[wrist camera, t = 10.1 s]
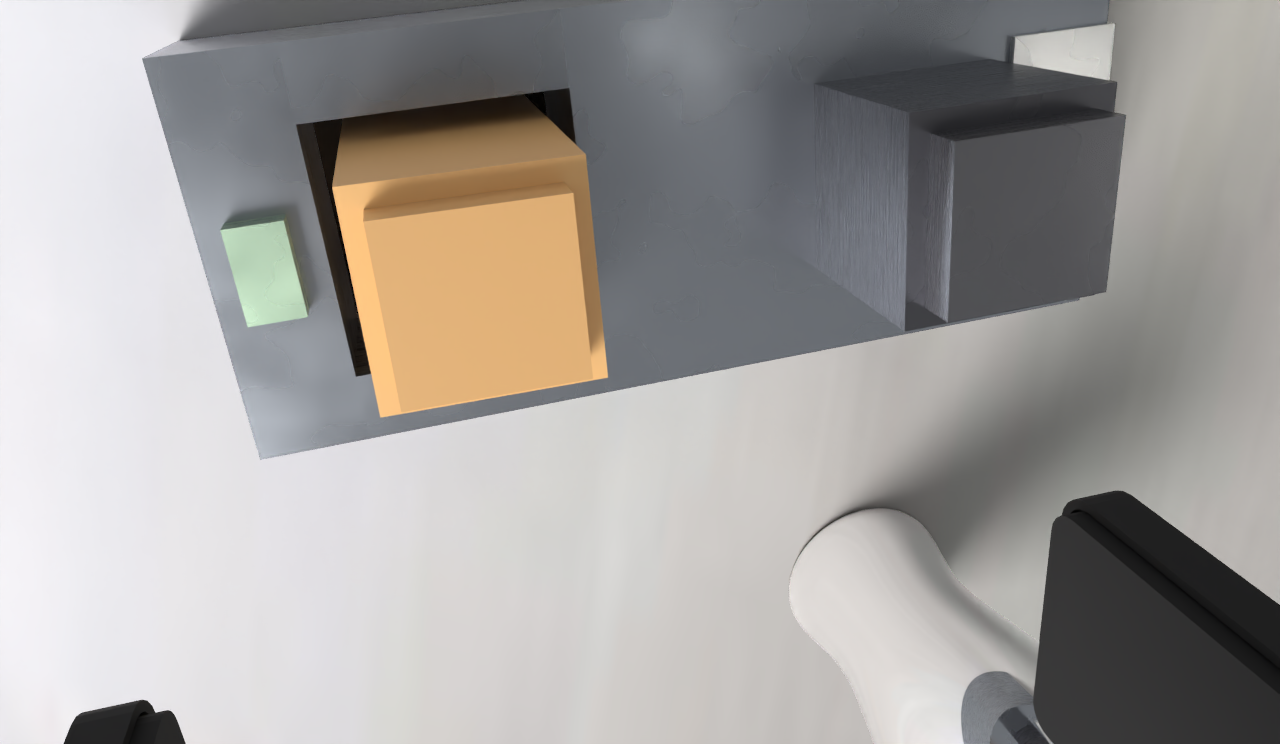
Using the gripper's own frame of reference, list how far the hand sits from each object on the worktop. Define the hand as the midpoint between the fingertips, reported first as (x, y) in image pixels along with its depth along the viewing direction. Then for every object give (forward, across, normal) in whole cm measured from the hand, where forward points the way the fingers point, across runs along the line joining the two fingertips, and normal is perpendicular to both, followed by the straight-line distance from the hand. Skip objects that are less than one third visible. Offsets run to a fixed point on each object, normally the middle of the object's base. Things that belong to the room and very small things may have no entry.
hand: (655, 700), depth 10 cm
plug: (+21, +1, -1) cm, 21 cm away
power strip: (+21, -5, -1) cm, 22 cm away
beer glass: (+21, -12, +16) cm, 29 cm away
